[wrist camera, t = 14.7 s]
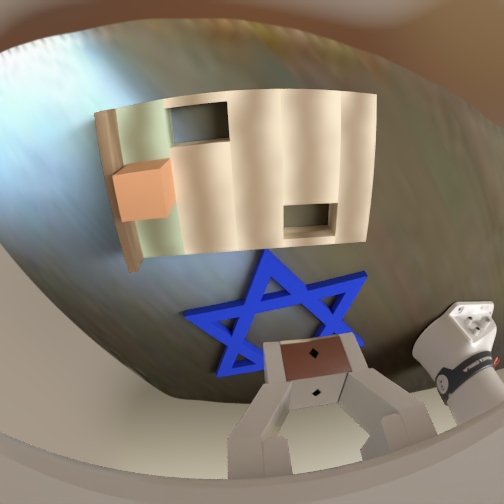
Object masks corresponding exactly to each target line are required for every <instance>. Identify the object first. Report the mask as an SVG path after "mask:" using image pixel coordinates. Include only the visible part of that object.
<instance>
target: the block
mask: <svg viewBox="0 0 504 504" xmlns="http://www.w3.org/2000/svg"><path fill="white" fill-rule="evenodd" d="M112 177H113V182H114V188H115V193H116V197H117V202H118V207H119V211H120V216H121V220H122V222H127V221H136V220H146V219H156V218H167V217H168V215H169V213H170V211H171V209H172V207H173V205H174V203H175V201H176V196H175V189H174V181H173V174H172V166H171V158H165V159H158V160H151V161H144V162H137V163H131V164H128V165H126V166H125V167H123V168H122V169H121V170H119V171H118V172H117V173H115V174H114V175H113V176H112Z"/></svg>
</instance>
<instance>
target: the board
mask: <svg viewBox="0 0 504 504" xmlns="http://www.w3.org/2000/svg"><path fill="white" fill-rule="evenodd" d="M224 101H227V107H228V121H229V136H230V138H219V139H208V140H199V141H190V142H182V143H174V135H173V125H172V116H171V108H173V107H180V106H187V105H195V104H204V103H213V102H224ZM376 105H377V95H375V94H366V93H357V92H346V91H333V90H314V89H256V90H237V91H224V92H213V93H203V94H194V95H187V96H180V97H173V98H166V99H161V100H155V101H149V102H144V103H139V104H134V105H130V106H125V107H121V108H116V109H110V110H104V111H100V112H96V113H94V116H95V124H96V131H97V138H98V144H99V150H100V156H101V162H102V167H103V172H104V177H105V182H106V187H107V192H108V196H109V201H110V205H111V209H112V214H113V218H114V222H115V226H116V229H117V233H118V237H119V241H120V244H121V248H122V251H123V255H124V258H125V261H126V265H127V268H128V271H129V273H131V272H137V271H138V269H139V267H140V265H141V263H142V261H143V259H144V258H146V257H160V256H173V255H186V254H200V253H213V252H227V251H240V250H254V249H268V248H282V247H295V246H309V245H323V244H337V243H351V242H365V241H366V235H367V228H368V220H369V212H370V204H371V194H372V184H373V172H374V159H375V141H376ZM165 158H171V166H172V174H173V181H174V189H175V196H176V201H175V203H174V205H173V207H172V209H171V211H170V213H169V215H168V217H167V218H156V219H146V220H136V221H127V222H122V220H121V216H120V211H119V207H118V202H117V197H116V193H115V188H114V182H113V177H112V176H113V175H114V174H115V173H117V172H118V171H119V170H121V169H122V168H123V167H125V166H126V165H128V164H131V163H137V162H144V161H151V160H158V159H165ZM323 203H329V215H328V225H316V226H299V227H283V205H300V204H323Z"/></svg>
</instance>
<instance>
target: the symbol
mask: <svg viewBox="0 0 504 504" xmlns="http://www.w3.org/2000/svg"><path fill="white" fill-rule="evenodd" d="M367 276H368V275H367V274H366V272H365V271H361V272H357V273H353V274H349V275H345V276H341V277H337V278H333V279H329V280H325V281H321V282H317V283H313V284H308V285H305V284H304V283H303V282H302V281H301V280H300V279H299V278H298V277H297V276H296V275H294V274H293V273H292V272H291V271H290V270H289V269H288V268H287V267H286V266H285V265H284V264H283V263H282V262H281V261H280V260H279V259H278V258H277V257H276V256H274V255H273V254H272V253H271V252H270V251H269V250H268V249H262V251H261V254H260V257H259V259H258V262H257V265H256V267H255V270H254V273H253V275H252V278H251V281H250V283H249V286H248V289H247V291H246V294H245V297H244V299H241V300H236V301H231V302H226V303H221V304H216V305H211V306H206V307H201V308H195V309H190V310H185V312H184V317H185V318H186V319H187V320H189V321H190V322H192V323H193V324H195V325H196V326H198V327H199V328H201V329H202V330H204V331H205V332H207V333H208V334H210V335H211V336H213V337H214V338H216V339H217V340H219V341H220V342H222V343H223V344H225V345H226V347H225V350H224V352H223V355H222V357H221V360H220V363H219V365H218V368H217V371H216V377H223V376H230V375H236V374H242V373H248V372H254V371H259V370H264V354H263V351H261V350H260V349H258V348H257V347H255V346H254V345H252V344H251V343H249V342H248V341H246V340H245V336H246V334H247V332H248V329H249V327H250V325H251V322H252V320H253V318H254V315H255V314H256V313H260V312H265V311H270V310H274V309H279V308H283V307H288V306H292V305H297V304H303V305H304V306H305V307H306V308H307V309H308V310H309V311H310V312H312V313H313V314H314V315H315V316H316V317H317V318H318V319H319V320H321V321H322V322H323V323H322V324H321V326H320V327H319V329H318V331H317V332H316V334H315V336H314V337H313V338H315V337H322V336H329V335H332V334H333V332H334V333H335V334H336V335H338V334H344V333H350V332H352V333H353V334H354V335H355V338H356V340H357V342H358V345H359V347H360V346H363V345H364V343H363V341H362V339H361V338H360V337H359V336H358V335H357V334H356V333H355V332H354V331H353V330H352V329H351V328H349V327H348V326H347V325H346V324H345V323H344V322H343V321H342V318H343V317H344V315H345V313H346V312H347V310H348V309H349V307H350V305H351V304H352V302H353V300H354V299H355V297H356V295H357V294H358V292H359V290H360V288H361V287H362V285H363V283H364V282H365V280H366V278H367ZM270 277H272V278H273V279H274V280H276V281H277V282H278V283H279V284H280V285H281V286H282V287H283V288H285V289H286V290H282V291H278V292H273V293H269V294H264V291H265V289H266V287H267V284H268V282H269V279H270ZM263 294H264V295H263ZM338 294H339V295H338ZM334 295H338V297H337V299H336V300H335V302H334V304H333V306H332V307H331V309H330V308H329V307H328V306H327V305H326V304H325V303H324V302H323V301H322V300H321V299H322V298H326V297H330V296H334ZM236 317H237V318H236ZM231 318H236V321H235V323H234V326H233V328H232V331H231V330H230V329H228V328H227V327H226V326H224V325H223V324H221V323H220V322H218V321H220V320H226V319H231ZM238 353H239V354H241V355H242V356H244V357H246V358H247V359H248V360H242V361H236V362H235V359H236V357H237V355H238Z"/></svg>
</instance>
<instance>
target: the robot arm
mask: <svg viewBox="0 0 504 504" xmlns="http://www.w3.org/2000/svg"><path fill="white" fill-rule="evenodd" d="M493 309H494V304H493V303H492V301H480V302H455V303H454V304H453V305H452V306H451V307H450V308H449V309H448V310H447V311H446V312H445V313H444V314H443V315H442V316H441V317H439V318H438V319H437V320H435V321H434V322H433V323H432V324H430V325H429V326H428V327H427V328H426V329H425V330H424V331H423V333H422V334H421V335H420V336H419V338H418V339H417V341H416V343H415V345H414V347H413V352H412V354H413V357H414V358H415V359H416V360H417V361H418V362H419V363H420V364H421V365H422V366H423V367H424V368H425V369H426V371H427V372H428V373H429V375H430V376H431V377H432V379H433V380H434V382H435V383H436V387H437V390H438V392H439V394H440V396H441V398H442V400H443V402H444V404H445V405H447V406H448V407H449V409H450V411H451V413H452V415H453V417H454V419H455V422H456V424H457V426H456V427H454V428H452V429H450V430H448V431H445V432H443V433H441V434H439V435H437V432H436V430H435V427H434V425H433V423H432V420H431V418H430V416H429V413H428V411H427V409H426V407H425V404H424V403H423V402H422V401H420V400H419V399H417V398H416V397H414V396H413V395H411V394H410V393H408V392H407V391H405V390H404V389H402V388H401V387H399V386H398V385H397V384H395V383H394V382H392V381H391V380H389V379H388V378H386V377H385V376H383V375H382V374H381V373H379V372H378V371H376V370H375V369H373V368H369V369H368V366H367V364H366V361H365V359H364V357H363V354H362V352H361V349H360V347H359V345H358V342H357V340H356V338H355V335H354V334H353V333H352V332H350V333H344V334H338V335H329V336H322V337H315V338H308V339H301V340H289V341H278V342H264V343H263V354H264V375H265V384H263V385H262V387H261V389H260V390H259V392H258V393H257V395H256V396H255V398H254V400H253V401H252V403H251V404H250V406H249V407H248V409H247V410H246V412H245V413H244V415H243V416H242V418H241V419H240V421H239V423H238V424H237V425H236V427H235V428H234V430H233V431H232V433H231V434H230V435H229V437H228V438H227V444H228V445H227V446H228V447H227V448H228V479H190V478H176V477H165V476H155V475H148V474H140V473H134V472H128V471H122V470H117V469H112V468H107V467H103V466H98V465H94V464H90V463H86V462H82V461H78V460H75V459H71V458H68V457H65V456H62V455H58V454H55V453H52V452H49V451H46V450H44V449H41V448H38V447H35V446H33V445H30V444H28V443H25V442H23V441H20V440H18V439H16V438H13V437H11V436H9V435H7V434H4V433H2V432H0V504H504V384H503V382H502V381H501V379H500V378H499V376H498V375H497V373H496V372H495V370H494V368H495V366H496V365H497V364H498V362H499V360H498V361H497V363H496V364H495V362H496V360H497V358H498V357H496V358H495V360H494V361H493V358H492V355H491V349H492V346H493V342H494V339H495V336H496V330H497V329H496V325H495V323H494V321H493V319H492V318H491V316H492V313H493ZM334 403H338V405H339V406H340V407H341V408H342V409H343V410H344V411H345V412H346V413H347V414H348V415H349V416H350V417H351V418H353V419H354V420H355V421H356V422H357V423H358V424H359V425H360V426H361V427H362V428H363V429H364V430H365V431H366V432H367V433H368V434H369V435H370V437H369V438H368V440H367V441H366V443H365V444H364V445H363V447H362V448H361V449H360V451H361V455H362V459H363V461H360V462H356V463H352V464H348V465H343V466H339V467H334V468H329V469H324V470H319V471H313V472H307V473H300V474H293V473H292V466H291V460H290V453H289V447H288V441H287V439H286V438H284V437H282V436H277V434H278V432H279V431H280V428H281V427H282V425H283V423H284V421H285V419H286V416H287V415H288V412H289V410H295V409H301V408H308V407H313V406H321V405H328V404H334ZM276 436H277V437H276Z"/></svg>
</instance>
